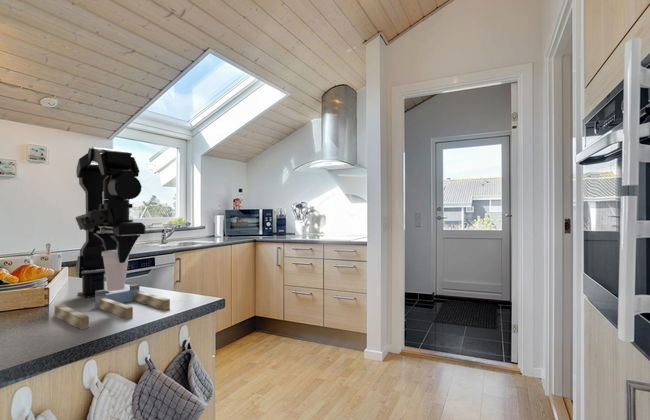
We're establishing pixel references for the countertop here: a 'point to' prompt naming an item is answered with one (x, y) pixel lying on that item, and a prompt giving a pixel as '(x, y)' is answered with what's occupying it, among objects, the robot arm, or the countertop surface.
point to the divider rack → (110, 309)
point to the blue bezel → (117, 295)
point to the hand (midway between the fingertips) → (116, 261)
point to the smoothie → (114, 270)
